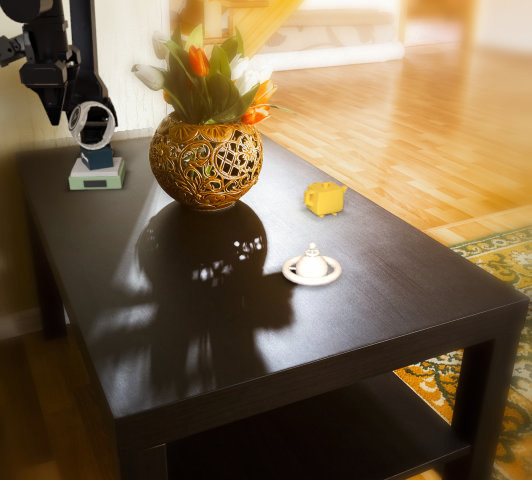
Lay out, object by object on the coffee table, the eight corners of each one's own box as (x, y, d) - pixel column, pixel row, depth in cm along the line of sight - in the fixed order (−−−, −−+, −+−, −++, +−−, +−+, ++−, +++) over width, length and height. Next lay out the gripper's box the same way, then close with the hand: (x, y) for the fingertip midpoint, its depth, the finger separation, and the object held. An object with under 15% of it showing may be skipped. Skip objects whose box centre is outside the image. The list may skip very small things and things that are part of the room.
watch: (71, 163, 116) (61, 102, 110) (113, 156, 119) (107, 97, 113) (79, 172, 111) (69, 109, 106) (123, 165, 115) (116, 104, 109)
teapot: (334, 201, 110) (336, 172, 107) (352, 213, 105) (355, 183, 102) (294, 208, 107) (295, 178, 104) (310, 220, 102) (312, 190, 99)
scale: (77, 172, 120) (75, 157, 118) (125, 171, 121) (124, 156, 119) (70, 190, 112) (67, 174, 110) (121, 189, 113) (119, 173, 111)
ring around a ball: (320, 301, 80) (352, 278, 85) (321, 261, 77) (354, 239, 83) (270, 284, 84) (303, 263, 90) (269, 245, 81) (304, 226, 87)
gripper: (5, 8, 103) (22, 105, 111) (-28, 22, 87) (-5, 134, 96) (74, 8, 104) (87, 104, 113) (54, 23, 89) (70, 133, 97)
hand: (60, 118), depth 104 cm, fingers open, 9 cm apart
